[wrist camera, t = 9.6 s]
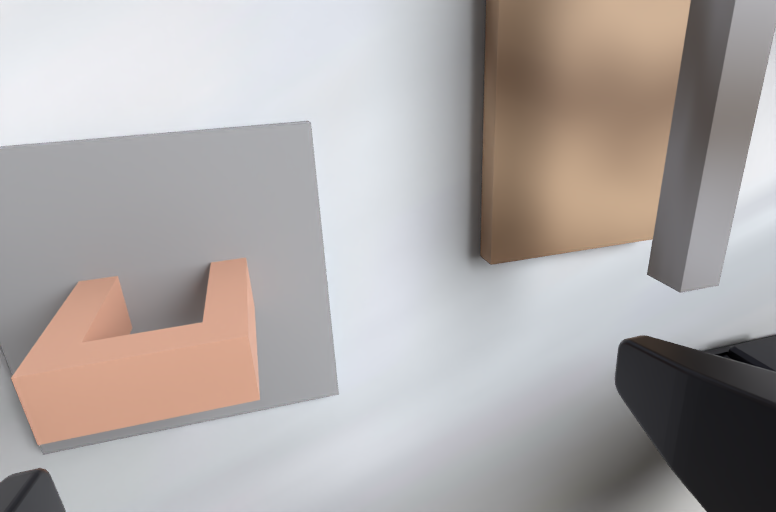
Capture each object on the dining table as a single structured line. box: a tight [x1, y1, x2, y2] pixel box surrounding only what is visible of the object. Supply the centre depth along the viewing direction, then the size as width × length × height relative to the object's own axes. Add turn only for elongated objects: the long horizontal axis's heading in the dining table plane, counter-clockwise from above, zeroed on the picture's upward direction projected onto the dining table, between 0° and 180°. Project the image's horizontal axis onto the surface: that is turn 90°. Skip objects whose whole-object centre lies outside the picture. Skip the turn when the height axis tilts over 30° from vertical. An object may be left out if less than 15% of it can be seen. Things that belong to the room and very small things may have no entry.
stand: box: [480, 0, 776, 293], centre depth 17 cm, size 14×8×7 cm, turn 3°
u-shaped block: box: [11, 258, 260, 445], centre depth 15 cm, size 2×5×6 cm, turn 93°
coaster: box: [0, 121, 339, 455], centre depth 18 cm, size 11×11×1 cm
